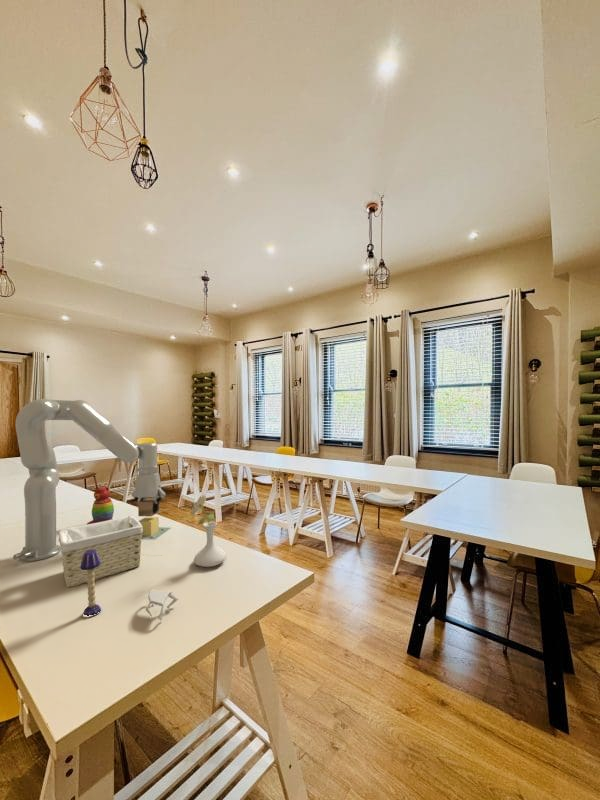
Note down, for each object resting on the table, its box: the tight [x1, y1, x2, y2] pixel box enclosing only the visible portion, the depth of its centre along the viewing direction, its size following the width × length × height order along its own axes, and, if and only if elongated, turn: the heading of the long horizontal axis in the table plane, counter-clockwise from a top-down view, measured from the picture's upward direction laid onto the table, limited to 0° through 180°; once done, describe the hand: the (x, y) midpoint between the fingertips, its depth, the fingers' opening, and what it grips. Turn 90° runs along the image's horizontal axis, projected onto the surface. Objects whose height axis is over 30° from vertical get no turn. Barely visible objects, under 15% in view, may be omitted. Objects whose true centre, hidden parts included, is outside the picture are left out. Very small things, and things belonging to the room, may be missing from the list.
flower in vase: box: [190, 494, 227, 568], centre depth 121 cm, size 13×11×25 cm
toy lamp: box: [80, 550, 102, 616], centre depth 92 cm, size 5×5×17 cm
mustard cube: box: [138, 516, 160, 536], centre depth 149 cm, size 6×6×6 cm
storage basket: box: [58, 515, 143, 588], centre depth 117 cm, size 24×16×15 cm
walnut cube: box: [137, 498, 160, 517], centre depth 149 cm, size 6×6×6 cm
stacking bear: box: [86, 486, 115, 525], centre depth 164 cm, size 11×10×18 cm
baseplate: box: [141, 526, 172, 541], centre depth 149 cm, size 14×14×1 cm
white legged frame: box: [145, 588, 179, 621], centre depth 92 cm, size 12×8×5 cm
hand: (148, 511), depth 149 cm, fingers closed on walnut cube, 6 cm apart
